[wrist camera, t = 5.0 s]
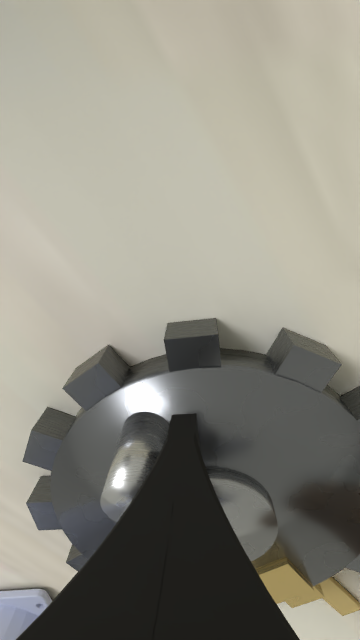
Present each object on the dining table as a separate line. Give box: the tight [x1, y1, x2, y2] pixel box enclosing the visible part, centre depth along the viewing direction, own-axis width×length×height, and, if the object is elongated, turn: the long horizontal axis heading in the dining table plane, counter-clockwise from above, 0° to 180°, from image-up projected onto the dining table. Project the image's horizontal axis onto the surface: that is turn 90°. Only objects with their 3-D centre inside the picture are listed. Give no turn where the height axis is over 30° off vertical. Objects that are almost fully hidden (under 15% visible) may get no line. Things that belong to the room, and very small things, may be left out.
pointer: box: [320, 577, 360, 616], centre depth 17 cm, size 4×1×1 cm, turn 41°
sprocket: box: [23, 318, 360, 608], centre depth 12 cm, size 16×16×4 cm
